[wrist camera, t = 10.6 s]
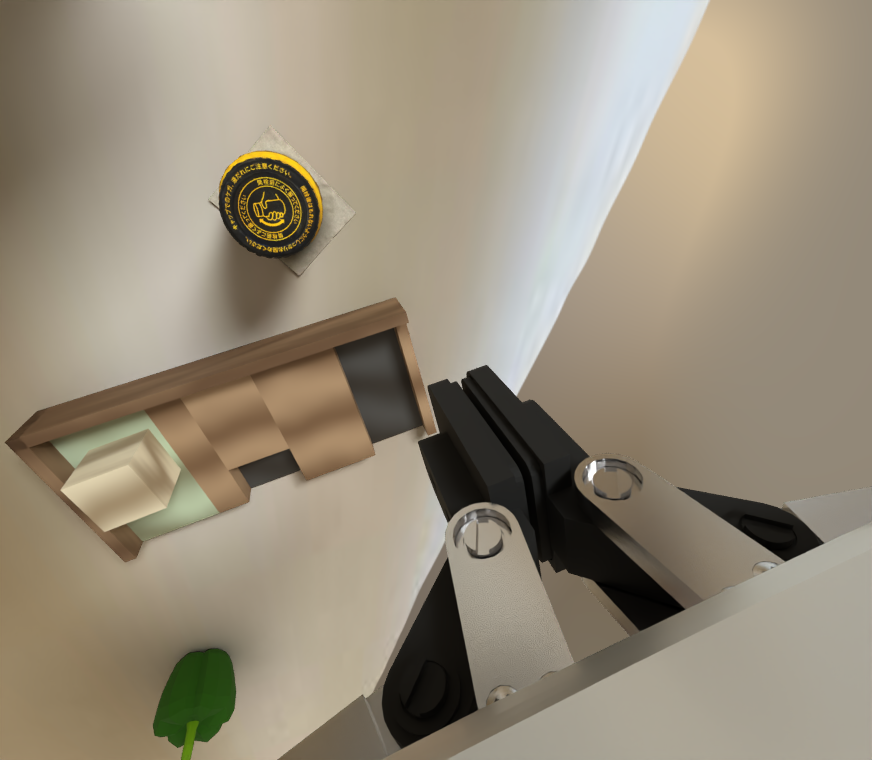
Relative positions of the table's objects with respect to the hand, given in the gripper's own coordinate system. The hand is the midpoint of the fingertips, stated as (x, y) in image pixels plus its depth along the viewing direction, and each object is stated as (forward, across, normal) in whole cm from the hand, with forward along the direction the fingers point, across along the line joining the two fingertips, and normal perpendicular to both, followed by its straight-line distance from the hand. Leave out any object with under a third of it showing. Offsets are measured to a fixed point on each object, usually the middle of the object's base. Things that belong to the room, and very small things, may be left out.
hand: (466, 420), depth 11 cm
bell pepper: (+29, +35, +45) cm, 64 cm away
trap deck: (+29, +13, +14) cm, 35 cm away
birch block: (+27, +24, +12) cm, 38 cm away
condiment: (+29, +4, -4) cm, 30 cm away
